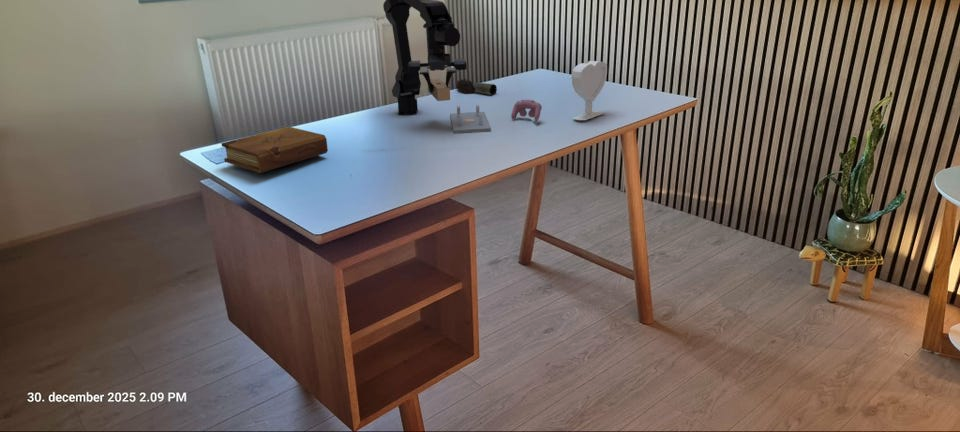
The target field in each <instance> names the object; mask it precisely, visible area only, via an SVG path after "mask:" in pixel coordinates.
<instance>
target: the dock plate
mask: <svg viewBox="0 0 960 432" xmlns="http://www.w3.org/2000/svg"><path fill="white" fill-rule="evenodd" d="M479 113H482V123H483V125H479V117H476V111H475V112H460V114H462V121H463V126H459V118H458V117H457V112H455V113H453V112H452V113H450V114H449V117H450V122H451V127H452V131H453V134H466V133H467V134H468V133H484V132H487V133H488V132H491V131H492V129H491V125H490V123H489V120H488V118H487V115H486V113H485V111H479Z"/></svg>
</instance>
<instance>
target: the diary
mask: <svg viewBox="0 0 960 432" xmlns="http://www.w3.org/2000/svg"><path fill="white" fill-rule="evenodd" d="M221 147H222V148H225V152H226V154H225V155H226V157H225V158H223V160H224V163H228V164H231V165H233V166H236V167H240V168H243V169H246V170H249V171H252V172H255V173H258V174H263V173H264V172H269V171H272V170H275V169H278V168H281V167H284V166H288V165H292V164H295V163H298V162H300V161H305V160H308V159H311V158H314V157H317V156H321V155H323V154H327V153H328V151H329V150H328V140H327V137H326V136H325V135H324V134H321V133H318V132H314V131H309V130H305V129H301V128H296V127H293V126H289V125H287V126H285V127H284V126H283V127H280V128H277V129H273V130H269V131H264V132H259V133H257V134H253V135H248V136H245V137H241V138H237V139H234V140H233V139H232V140H230V141H225V142H221Z"/></svg>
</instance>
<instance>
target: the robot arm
mask: <svg viewBox="0 0 960 432" xmlns="http://www.w3.org/2000/svg"><path fill="white" fill-rule="evenodd" d="M382 5H383V7H382V8H383V11H384V14H385V17H386V20H387V21H388V22H389V23H390V25H391V26H392V33H393V40H394V46H395V52H396V59H397V64H398V65H397V66H398V67H397V71H396V73H395V76H394V78H395V83H394V85H393V87H392V89H391V93H392V97H393V98H396V99H397V110H398V111H397V113H398V115H400V116H401V115H402V116H403V115H416V114H417V112H418V111H419V108H418V98H417V97H416V96H419V95H420V94H421V93H420V92H421V85H422V83H421V80H420V79H421V78H420V75H421V76H423V77H424V79H425V81H426V82H427V87H428V86H429V89H430V91H431V93H432V85H431V80H430V79H431V76H430V75H431V74H430V71H431V72H435V71H444V70H445V71H446V72H445V73H446V74H445V82H444V83H445V84H446V85H447V86H449V84H450V80H451V79H452V75H453V74H456V73H457V71H467V68H468V65H467V60H466V58H454V59H453V61H451V53H446V46H447V47H456V46H457V45H458V44H459V43H460V41H461V34H460V31H459V29H458V28H456V27H455V23H454V22H453V20H452V19H453V18H452V16H451V15H450V12H449V10H448V8H447V6H446V4H445V3H444V2H443V1H441V0H385V1H384V2H383V4H382ZM411 8H413V9H414V10H416V11H418V12H419V16H420V18H422V20H423V21H424V22H425V23H424V24H423V25H422V27H423V28H424V29H425V33H426V46H427V47H426V48H427V62H421V60H412V56H411V55H412V54H411V53H412V52H411V47H410V41H409V33H408V28H407V23H408V20H409V17H410V9H411ZM429 70H430V71H429ZM431 93H430V94H431Z"/></svg>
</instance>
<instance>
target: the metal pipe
mask: <svg viewBox="0 0 960 432" xmlns="http://www.w3.org/2000/svg"><path fill="white" fill-rule="evenodd" d="M458 89H459V90H458ZM456 90H458V91H459V92H460V93H461V94H465V95H469V94H474V93H476V94H482V95H489V96H495V95H496V94H497V90H498V89H497V85H496V84H494V83H484V82H473V81H472V80H469V79H468V80H467V78H464V79H463V78H462V79H460V80H458V81H457V82H456Z"/></svg>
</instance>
